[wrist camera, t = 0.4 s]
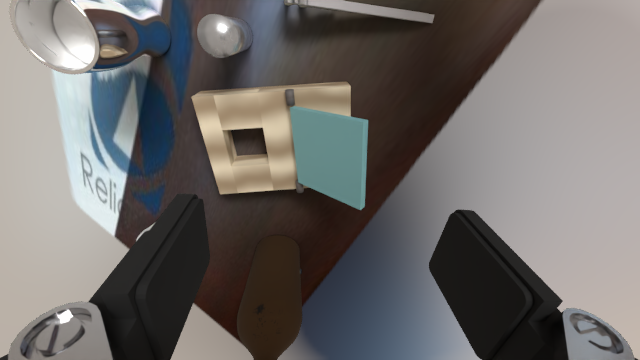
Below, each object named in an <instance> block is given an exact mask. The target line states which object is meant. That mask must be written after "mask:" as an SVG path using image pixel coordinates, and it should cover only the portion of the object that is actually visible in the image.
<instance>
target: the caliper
mask: <svg viewBox="0 0 640 360" xmlns="http://www.w3.org/2000/svg"><path fill="white" fill-rule="evenodd" d="M284 4H285V5H287V6H290V5H299V7H314V8H320V9H327V10H334V11H345V12H352V13H359V14H366V15H373V16H380V17H388V18H395V19H402V20H409V21H417V22H426V23H433V19H434V15H432V14H428V13H422V12H415V11H408V10H402V9H395V8H388V7H382V6H375V5H368V4H362V3H355V2H348V1H344V0H284Z"/></svg>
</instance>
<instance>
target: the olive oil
mask: <svg viewBox="0 0 640 360" xmlns="http://www.w3.org/2000/svg"><path fill="white" fill-rule="evenodd" d="M301 273H302V270H300V250H299V246H298V245H297V243H296V242H295V241H294V240H293V239H291V238H289V237H286V236H283V235H272V236H268V237H266V238H264V239H262V240H261V241H260V242H259V243H258V245H257V247H256V250H255V254H254V258H253V262H252V266H251V269H250V273H249V276H248V280H247V283H246V287H245V290H244V294H243V297H242V301H241V304H240V307H239V311H238V315H237V329H238V334H239V337H240V339H241V341H242V343H243V344H244V345H245V347H246V348H247V349H248V351H249V352H250V353H251V355H252V356H253V358H254V360H277V358H278V357H279V356H280V355H281V354H282V353H283V352H284V351H285V350H286V349H287V348H288V347H289V346H290V345H291V344H292V343H293V342H294V340H295V339H296V337H297V335H298V333H299V330H300V327H301V322H302V302H301V281H300V274H301Z"/></svg>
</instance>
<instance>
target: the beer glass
mask: <svg viewBox="0 0 640 360" xmlns="http://www.w3.org/2000/svg"><path fill="white" fill-rule="evenodd" d="M10 19H11V23H12V26H13V29H14V31H15V33H16V35H17V37H18V38H19V40H20V41H21V43H22V44H23V46H24V47H25V48H26V49H27V50H28V51H29V52H30V53H31V54H32V55H33V56H34V57H35V58H36V59H37V60H39V61H40V62H41V63H43V64H44V65H46V66H48V67H50V68H51V69H54V70H56V71H59V72H62V73H66V74H82V73H93V72H102V71H109V70H113V69H117V68H121V67H123V66H125V65H127V64H130V63H131V62H133V61H135V60H136V59H138V58H139V57H141V56H143V55H144V56H148V57H158V56H161V55H163V54H164V53H165V52H166V51H167V50H168V48H169V46H170V42H171V35H170V31H169V28H168V25H167V24H166V22H165V20H164V19H163V18H162V17H161V15H160V14H159V13H157V12H156V11H155V10H153V9H152V8H150V7H147V6H144V5H132V6H128V7H126V6H124V5H122V4H120V3H117V2H115V1H113V0H11V3H10Z"/></svg>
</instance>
